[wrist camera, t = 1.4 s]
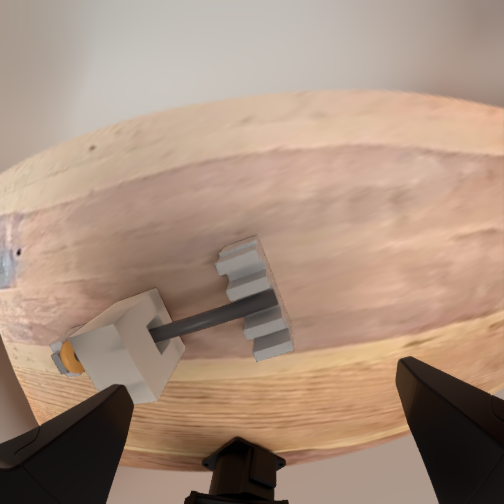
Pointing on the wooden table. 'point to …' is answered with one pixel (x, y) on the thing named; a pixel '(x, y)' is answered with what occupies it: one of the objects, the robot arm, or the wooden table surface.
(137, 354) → the sleeve
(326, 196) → the wooden table surface
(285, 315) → the cord rig
